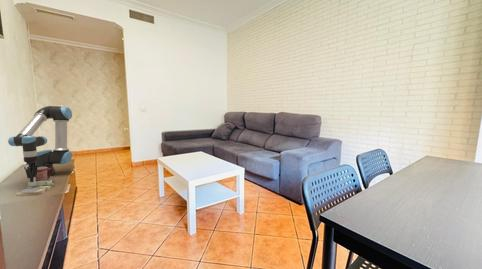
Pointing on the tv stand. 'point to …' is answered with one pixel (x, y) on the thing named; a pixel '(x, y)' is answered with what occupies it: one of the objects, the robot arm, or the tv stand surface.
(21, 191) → the seat pad
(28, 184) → the leg
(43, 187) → the board
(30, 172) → the robot arm
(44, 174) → the mug
